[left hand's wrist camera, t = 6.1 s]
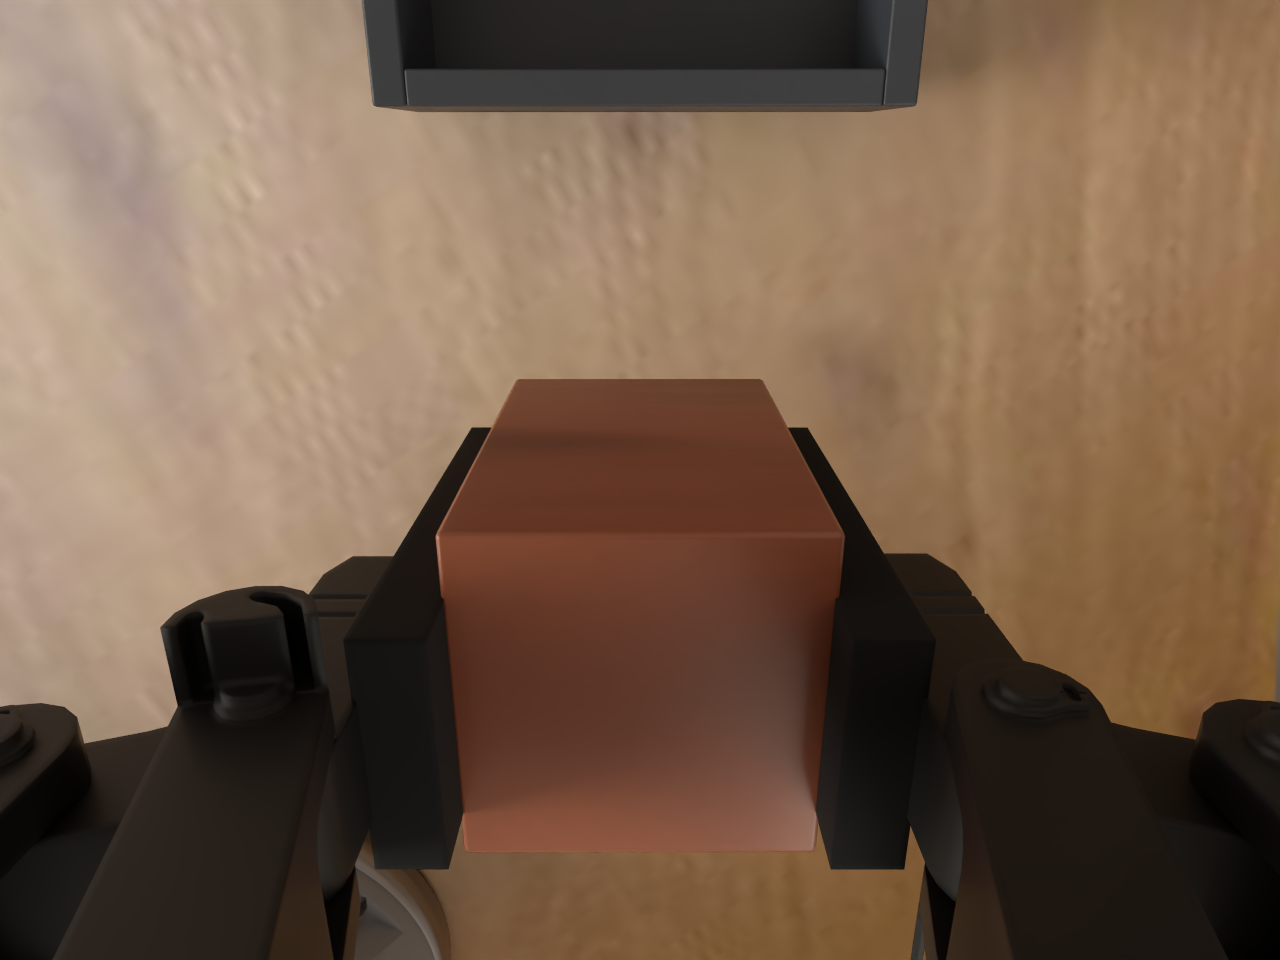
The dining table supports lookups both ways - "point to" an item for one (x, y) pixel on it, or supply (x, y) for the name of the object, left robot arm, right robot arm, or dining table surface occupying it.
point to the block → (639, 621)
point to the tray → (644, 55)
